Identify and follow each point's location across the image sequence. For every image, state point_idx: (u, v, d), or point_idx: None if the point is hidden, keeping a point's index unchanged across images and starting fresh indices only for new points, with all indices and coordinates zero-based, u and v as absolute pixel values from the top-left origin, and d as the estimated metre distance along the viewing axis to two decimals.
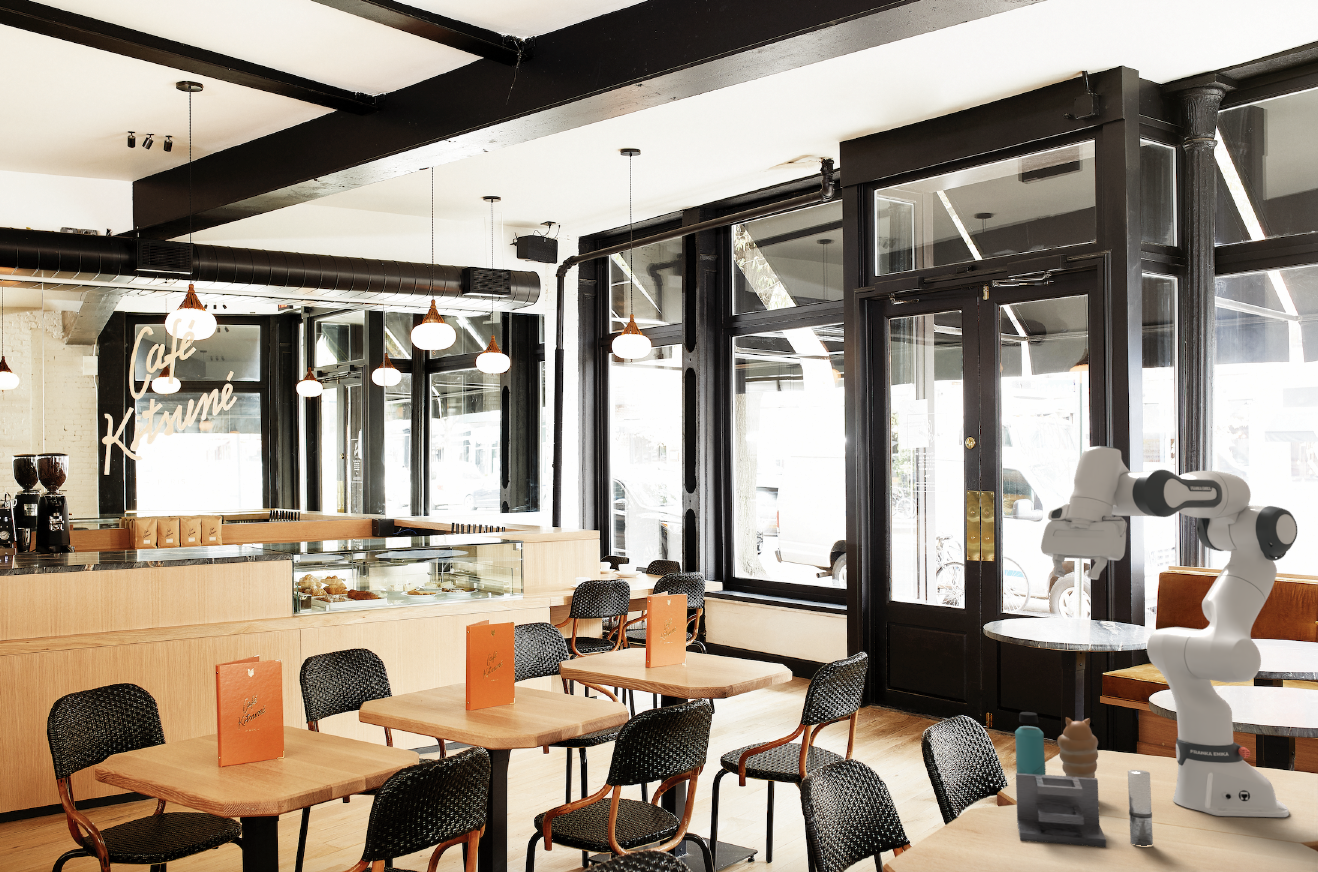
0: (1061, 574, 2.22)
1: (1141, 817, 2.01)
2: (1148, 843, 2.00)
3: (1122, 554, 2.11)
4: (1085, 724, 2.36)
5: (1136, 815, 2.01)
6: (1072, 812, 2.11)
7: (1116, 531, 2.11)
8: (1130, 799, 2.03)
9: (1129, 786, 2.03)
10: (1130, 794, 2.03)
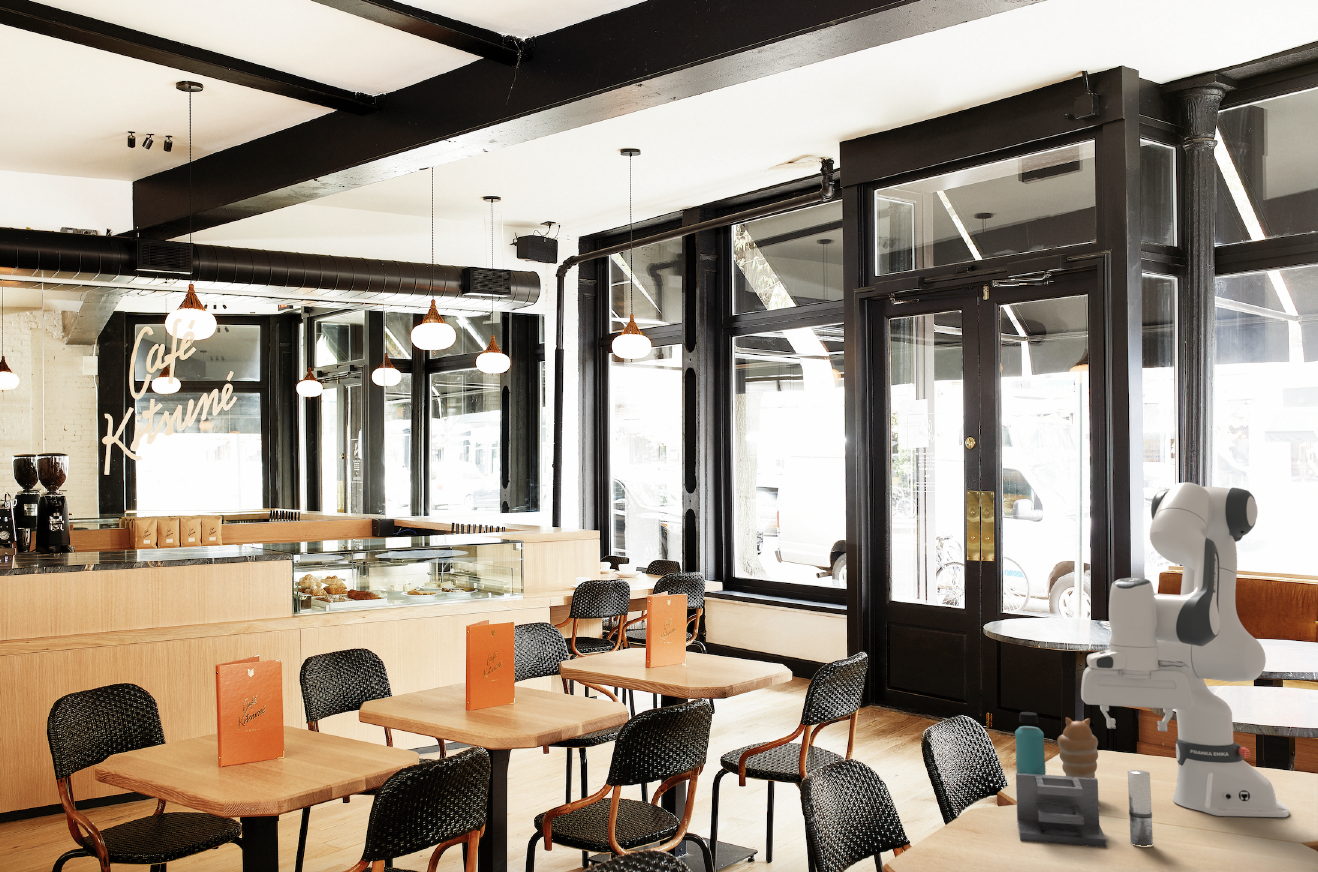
0: (1114, 725, 2.05)
1: (1141, 817, 2.01)
2: (1148, 843, 2.00)
3: None
4: (1085, 724, 2.36)
5: (1136, 815, 2.01)
6: (1072, 812, 2.11)
7: (1188, 681, 2.01)
8: (1130, 799, 2.03)
9: (1129, 786, 2.03)
10: (1130, 794, 2.03)
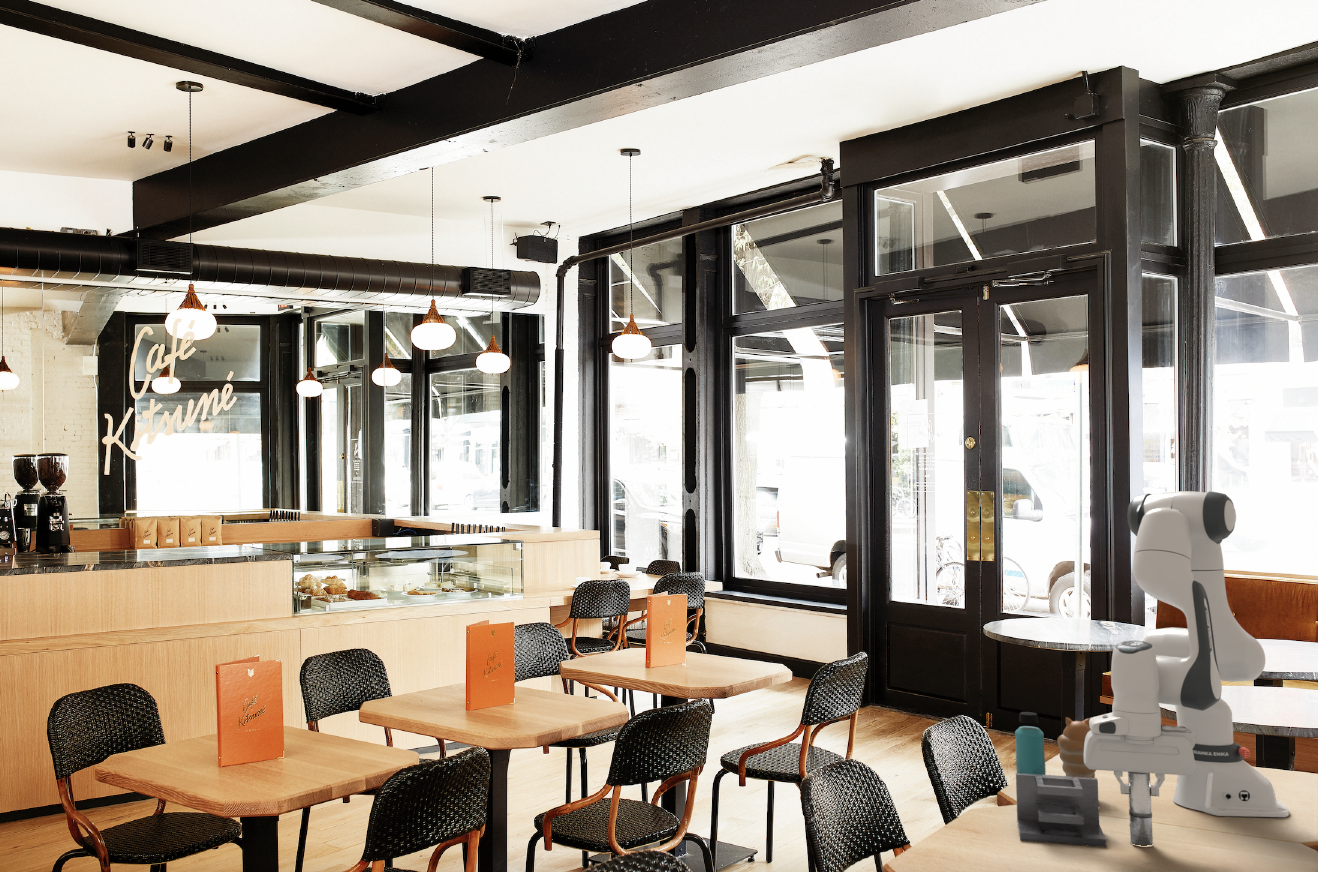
0: (1128, 791, 2.03)
1: (1141, 817, 2.01)
2: (1148, 843, 2.00)
3: None
4: (1085, 724, 2.36)
5: (1136, 815, 2.01)
6: (1072, 812, 2.11)
7: (1191, 747, 2.00)
8: (1130, 799, 2.03)
9: (1129, 786, 2.03)
10: (1130, 794, 2.03)
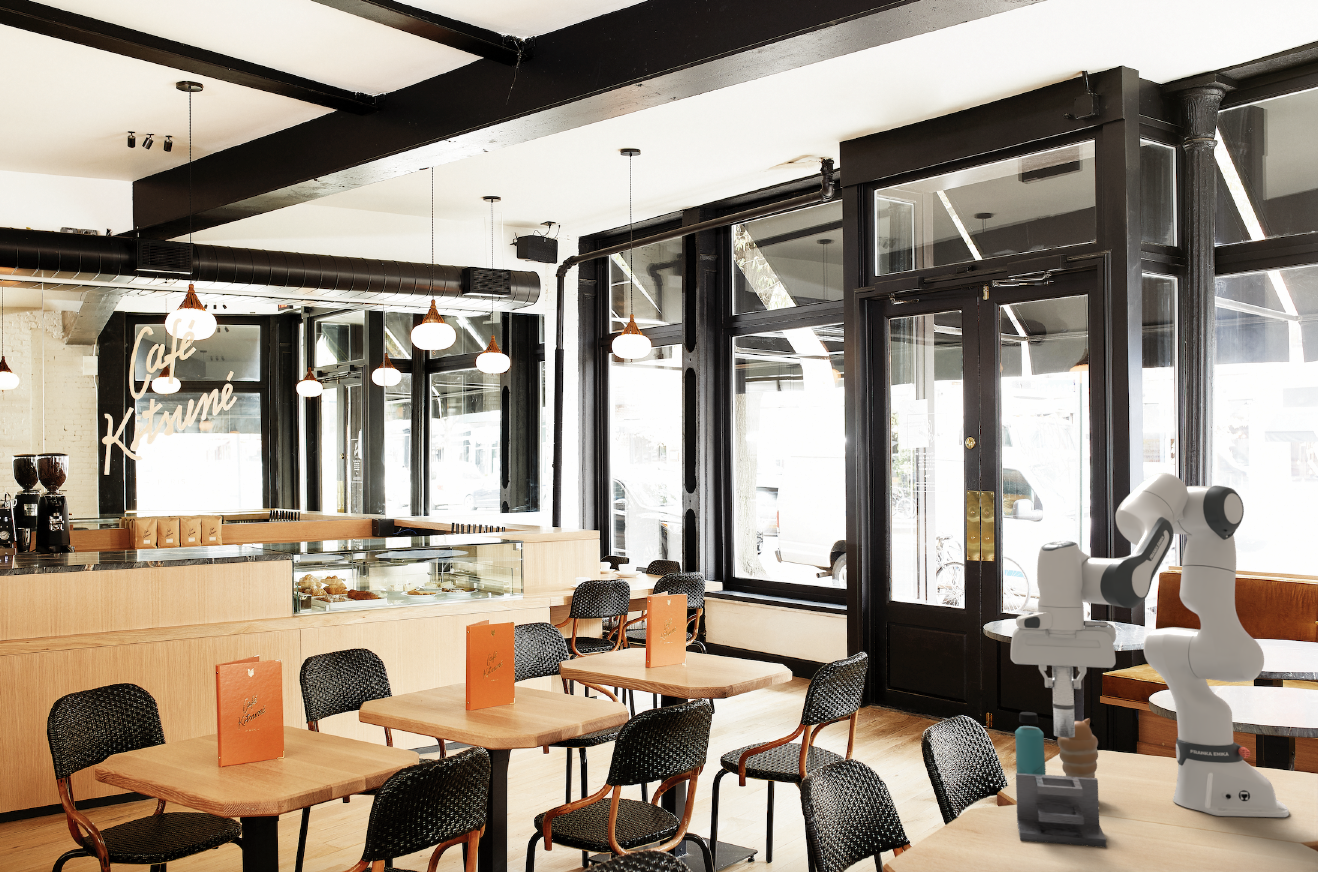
0: None
1: (1063, 708, 2.07)
2: (1070, 733, 2.07)
3: None
4: (1085, 724, 2.36)
5: (1059, 707, 2.08)
6: (1072, 812, 2.11)
7: (1112, 640, 2.07)
8: (1054, 692, 2.09)
9: (1053, 679, 2.10)
10: (1053, 687, 2.09)
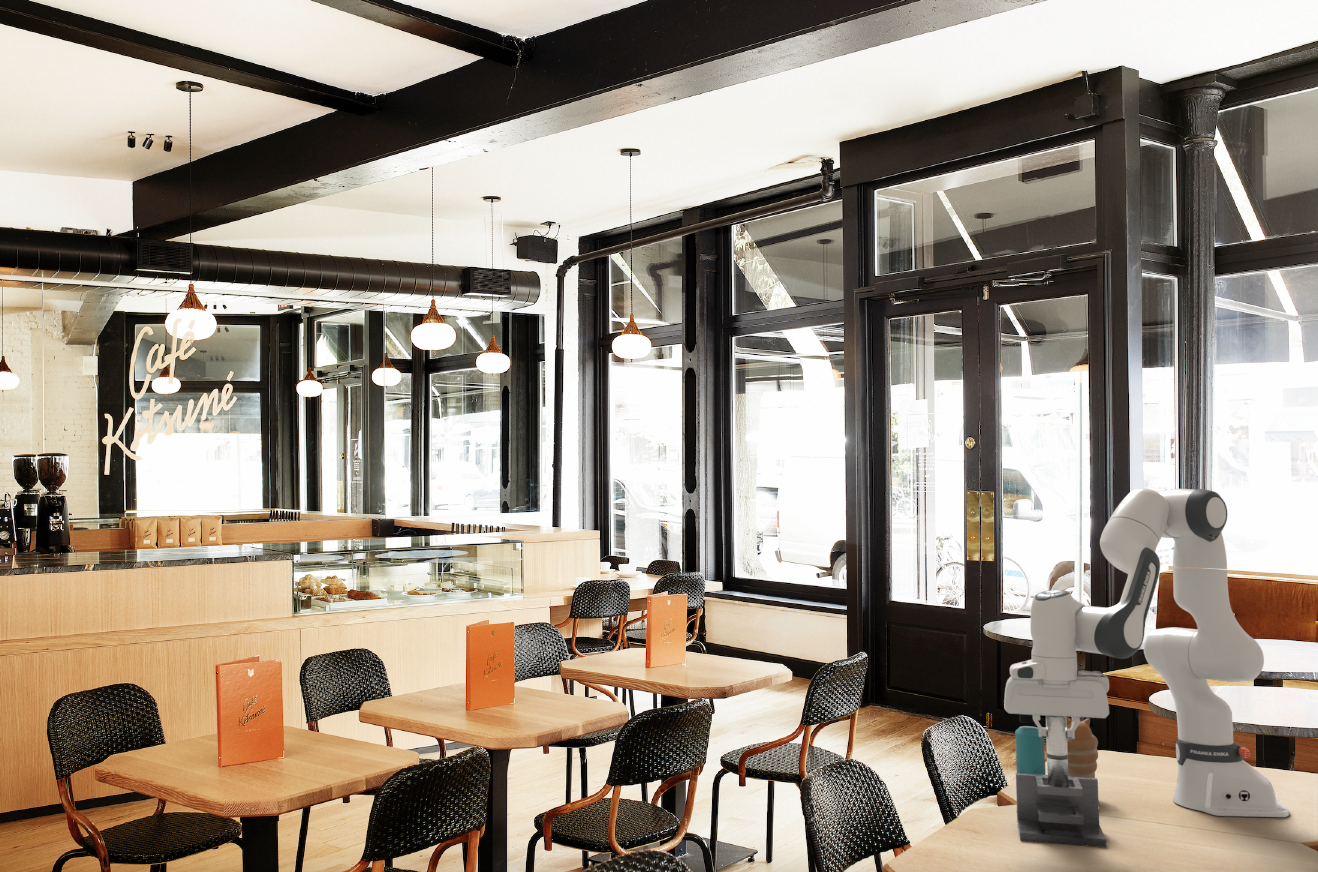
0: None
1: (1057, 758, 2.07)
2: (1063, 784, 2.07)
3: None
4: (1085, 724, 2.36)
5: (1052, 757, 2.08)
6: (1072, 812, 2.11)
7: (1105, 690, 2.07)
8: (1047, 742, 2.09)
9: None
10: (1047, 737, 2.09)
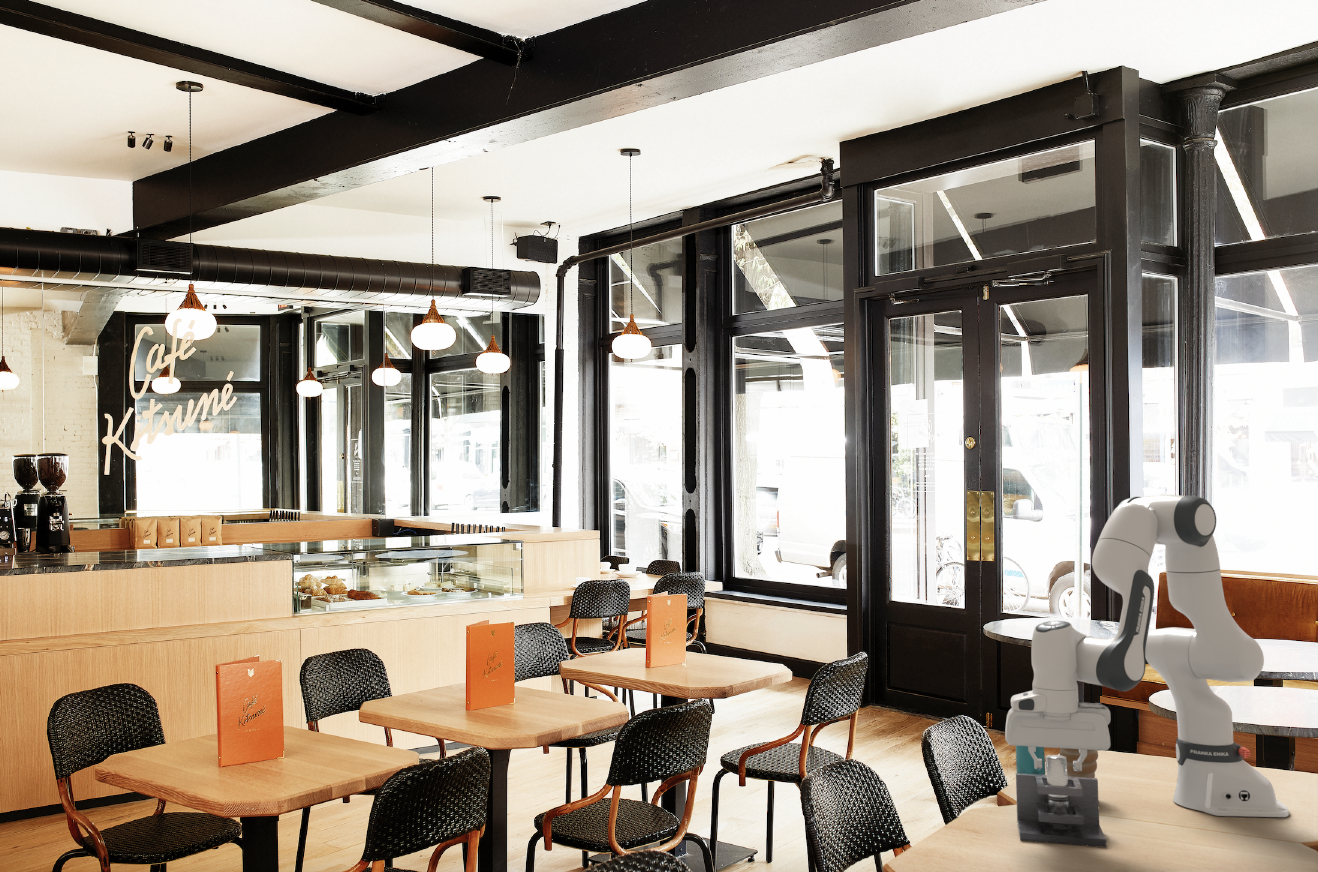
0: (1041, 766, 2.10)
1: (1058, 800, 2.07)
2: (1065, 825, 2.06)
3: None
4: None
5: (1053, 799, 2.07)
6: (1072, 812, 2.11)
7: (1106, 723, 2.06)
8: (1048, 783, 2.09)
9: (1047, 771, 2.09)
10: (1047, 778, 2.09)
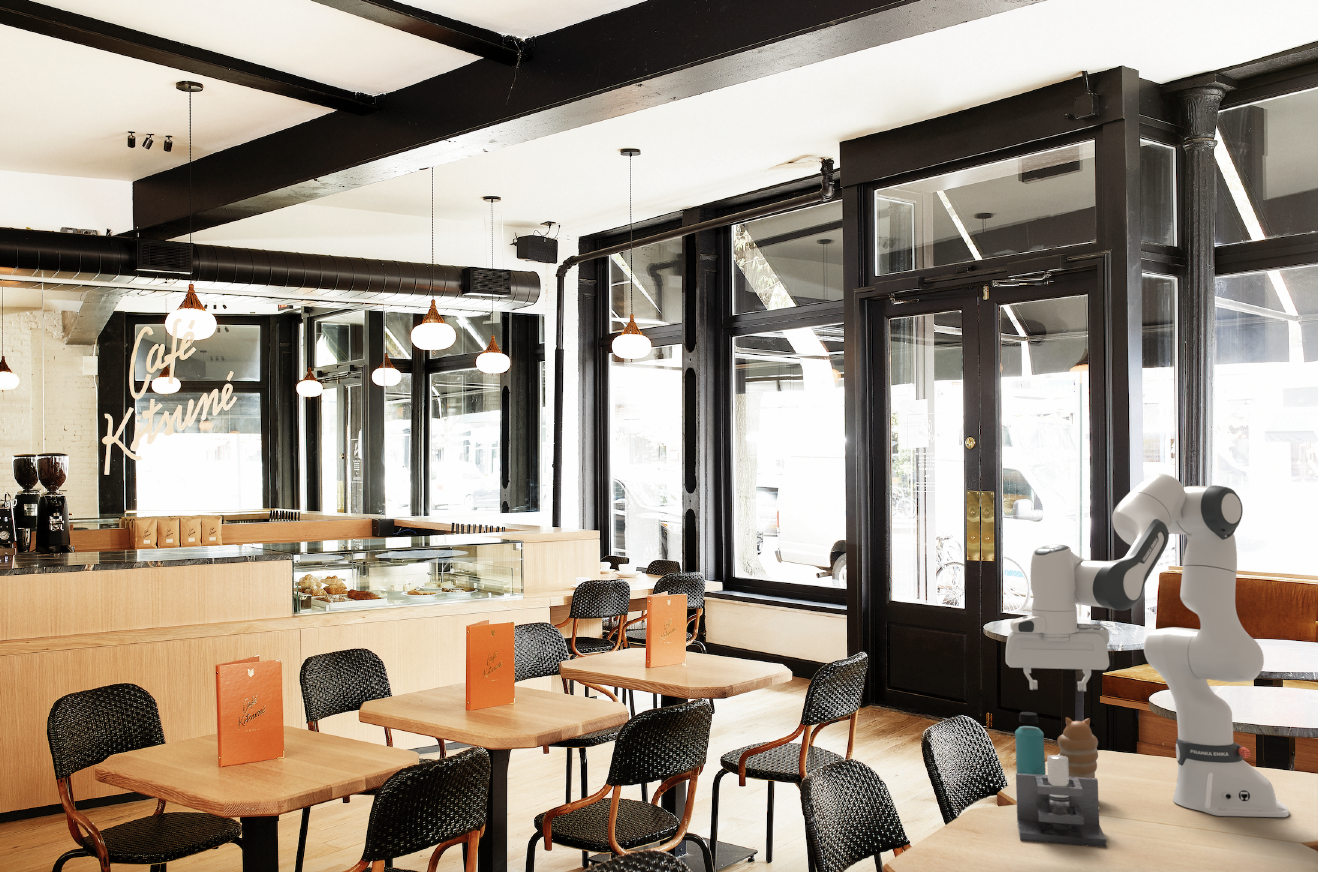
0: (1037, 687, 2.13)
1: (1059, 800, 2.07)
2: (1066, 826, 2.06)
3: None
4: (1085, 724, 2.36)
5: (1054, 799, 2.07)
6: (1072, 812, 2.11)
7: (1105, 642, 2.09)
8: (1049, 783, 2.09)
9: (1048, 771, 2.09)
10: (1049, 778, 2.09)
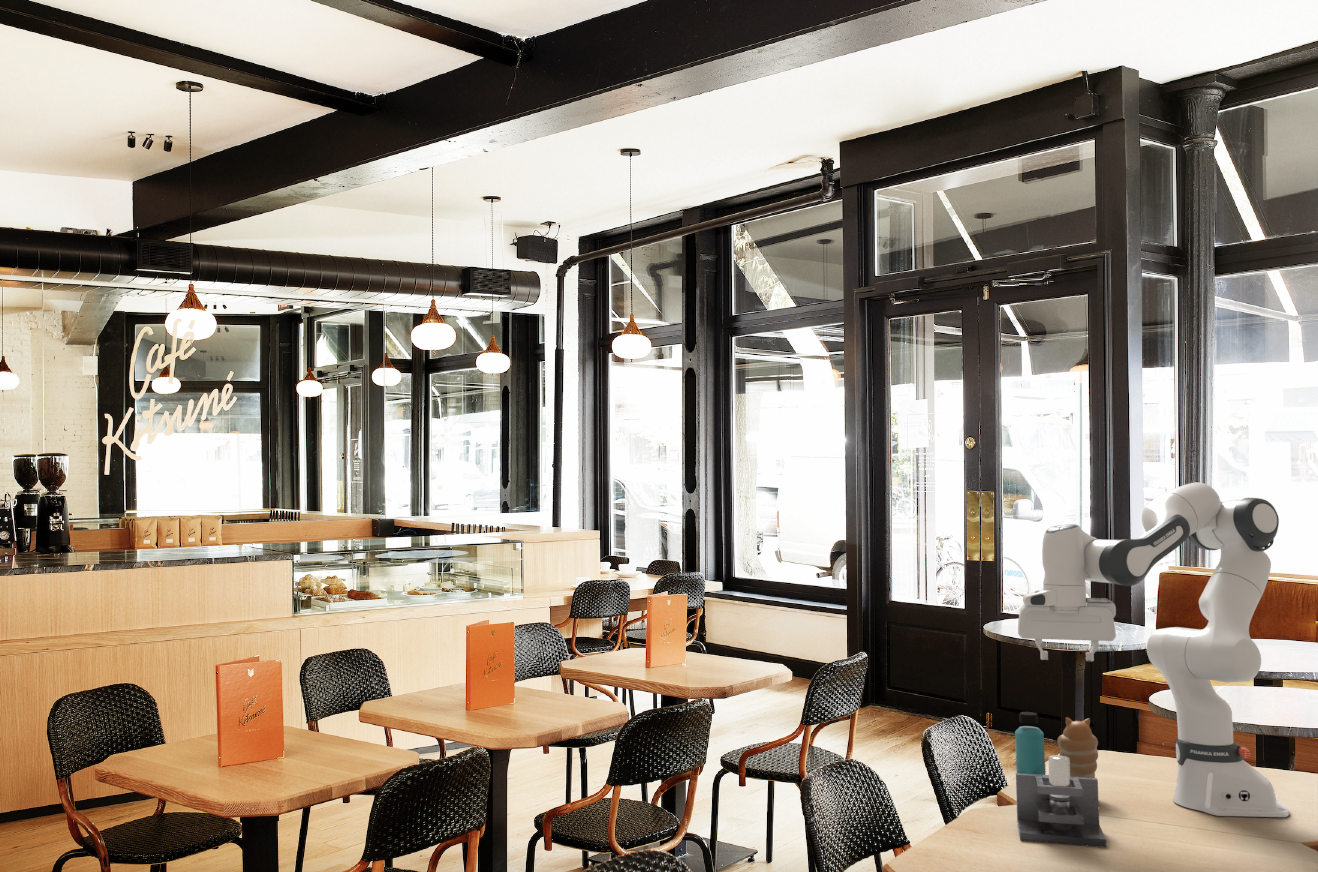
0: None
1: (1060, 801, 2.07)
2: (1066, 826, 2.06)
3: None
4: (1085, 724, 2.36)
5: (1055, 799, 2.07)
6: (1072, 812, 2.11)
7: (1112, 615, 2.23)
8: (1050, 783, 2.09)
9: (1049, 771, 2.09)
10: (1050, 779, 2.09)
